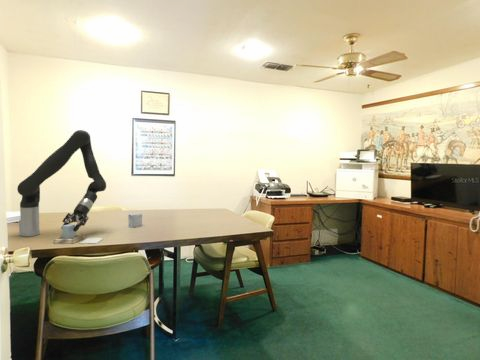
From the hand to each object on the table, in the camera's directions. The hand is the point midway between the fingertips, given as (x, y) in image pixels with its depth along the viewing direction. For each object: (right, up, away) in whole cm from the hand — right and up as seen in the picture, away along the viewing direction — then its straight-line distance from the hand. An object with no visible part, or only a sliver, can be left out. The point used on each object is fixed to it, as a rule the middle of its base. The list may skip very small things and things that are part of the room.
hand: (68, 230), depth 172 cm
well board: (0, -6, +1) cm, 6 cm away
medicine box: (+25, -4, +38) cm, 46 cm away
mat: (+13, -6, +1) cm, 14 cm away
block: (0, -6, +1) cm, 6 cm away
